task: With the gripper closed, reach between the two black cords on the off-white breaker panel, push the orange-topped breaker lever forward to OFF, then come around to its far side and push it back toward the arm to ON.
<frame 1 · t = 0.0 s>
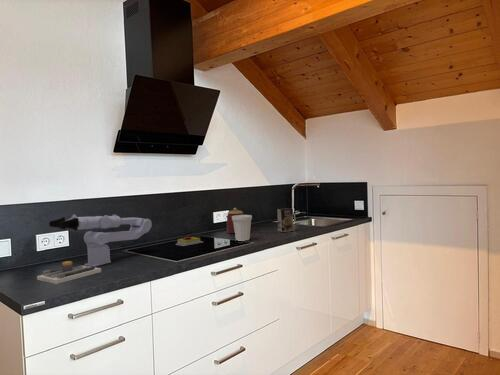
hand: (54, 224, 157), 22 cm above the table, tool horizontal, fingers open, 7 cm apart
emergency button: (189, 244, 222), on the table
breaker panel: (70, 275, 155), on the table
breaker lever: (67, 267, 154), point 4 cm above the table, slide at 0.0 cm
cup: (242, 241, 223), on the table
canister: (236, 232, 257), on the table
coffee box: (285, 232, 251), on the table
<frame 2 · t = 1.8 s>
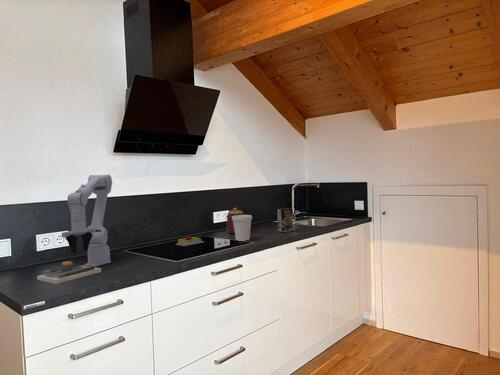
hand: (80, 251, 159), 9 cm above the table, tool pointing down, fingers open, 5 cm apart
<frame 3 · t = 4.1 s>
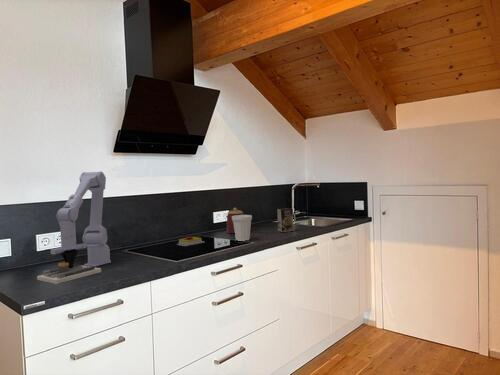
hand: (70, 268, 155), 3 cm above the table, tool pointing down, fingers closed
breaker lever: (63, 268, 152), point 4 cm above the table, slide at 1.7 cm, touching gripper
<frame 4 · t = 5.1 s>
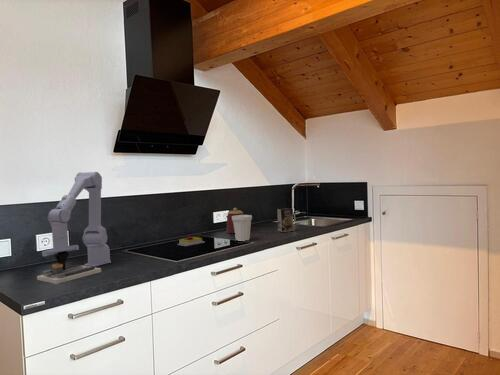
hand: (62, 270, 152), 3 cm above the table, tool pointing down, fingers closed, pressing on breaker lever
breaker lever: (57, 269, 150), point 4 cm above the table, slide at 4.2 cm, touching gripper
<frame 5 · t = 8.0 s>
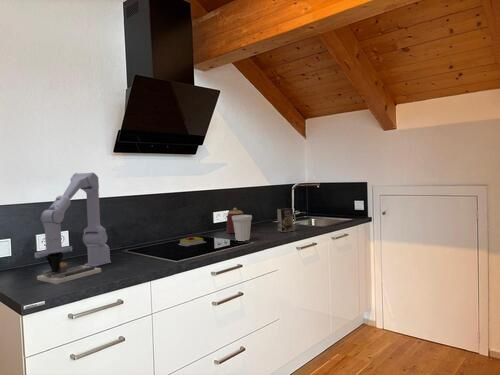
hand: (55, 271, 149), 3 cm above the table, tool pointing down, fingers closed
breaker lever: (61, 268, 151), point 4 cm above the table, slide at 2.5 cm, touching gripper
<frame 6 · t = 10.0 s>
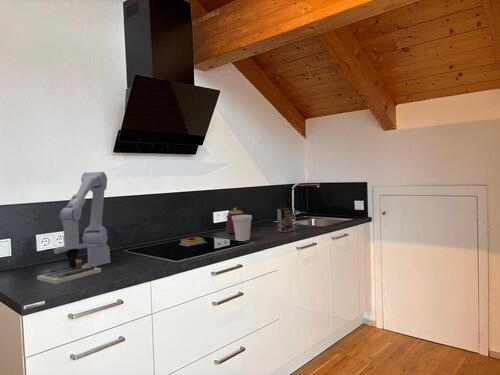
hand: (72, 267, 156), 3 cm above the table, tool pointing down, fingers closed, pressing on breaker lever
breaker lever: (76, 264, 157), point 4 cm above the table, slide at -4.2 cm, touching gripper
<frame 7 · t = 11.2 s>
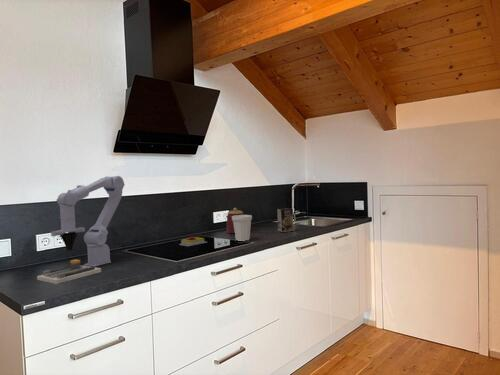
hand: (69, 249, 163), 9 cm above the table, tool pointing down, fingers closed
breaker lever: (75, 265, 157), point 4 cm above the table, slide at -3.6 cm
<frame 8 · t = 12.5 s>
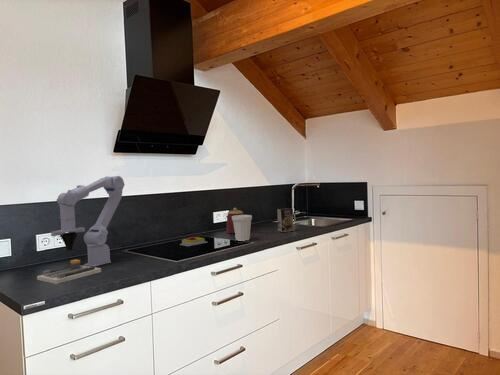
hand: (69, 249, 163), 9 cm above the table, tool pointing down, fingers closed
at the end: breaker lever slide at -3.6 cm; the gripper is holding nothing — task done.
